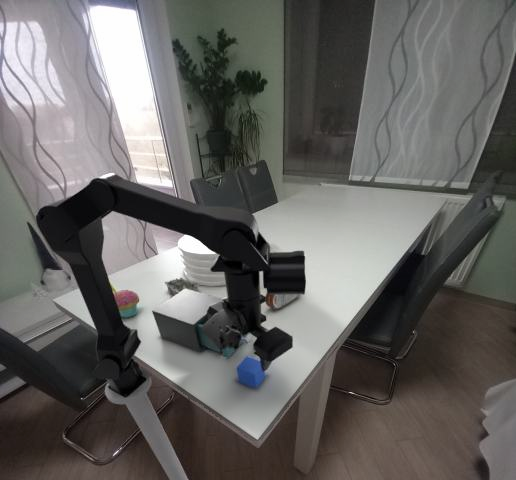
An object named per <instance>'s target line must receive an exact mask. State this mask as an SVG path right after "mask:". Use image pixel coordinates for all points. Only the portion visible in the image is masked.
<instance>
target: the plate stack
mask: <svg viewBox="0 0 516 480" xmlns="http://www.w3.org/2000/svg"><path fill="white" fill-rule="evenodd" d="M177 247H178V249H179V254H180V255H179V256H180V257H181V262H182V267H183V270H184V275H185V278H186V280H189V281H192V282H193V281H195V282H196V283H197V284H198V285H200V286H207V287H223V286H226V283H225V275H224V272H211V270H210V269H211V267H212V264H213V262H214V260H215V259H216V258H217V257H218V256H219V254H217V253H215V252H213V251H211V250H209V249H208V248H207V247H206V246H204V245H203V244H202V243H201V242H200V241H198V240H197V239H195V238H193V237H191V236H188V235H185V234H184V236H182V237H181V238H179V240H178V242H177Z"/></svg>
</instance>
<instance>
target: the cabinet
mask: <svg viewBox="0 0 516 480" xmlns="http://www.w3.org/2000/svg"><path fill="white" fill-rule="evenodd" d="M223 299H224V298H222V297H217V296H214V295H211V294H207V293H203V292H200V291H198V292H196V291H192V290H189V289H184V290H182V291H181V292H179V293H178V294H176V295H175V296H174V295H173V296H172V297H170V298H169V299H168V300H166V301H164V302H163V303H161V304H159V305H158V306H156V307H154V309H152V310H151V312H152V315H153V318H154V321H155V323H156V326H157V329H158V332H159V335H160V337H161V338H162V339H165V340H167V341H169V342H172V343H174V344H177V345H180V346H183V347H185V348H187V349H190V350H193V351H196V352H199V353H202V351H204V349H206V347H205V346H202V345H201V344H200V340H199V336H198V332H197V328H196V325H197V324H199V323H200V322H201V321H202V320H203V319H205V318H206V317H207V310H208V308H209V306H211V305H213V304H215V303H217V302H219V301H222V300H223Z"/></svg>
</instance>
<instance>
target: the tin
mask: <svg viewBox="0 0 516 480" xmlns="http://www.w3.org/2000/svg"><path fill="white" fill-rule="evenodd" d="M300 295H301V294H297V295H270V293H267V292H266V294H265V297H266V302H265V305H266V306H267V307H269V308H271V309H273V310H279V309H282V308H283V307H285V306H286V305H288V304H290V303H291V302H293V301H295V300H296V299H298V297H299V296H300Z"/></svg>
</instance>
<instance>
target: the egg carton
mask: <svg viewBox="0 0 516 480" xmlns="http://www.w3.org/2000/svg"><path fill="white" fill-rule="evenodd" d="M164 284H165V285H166V287H167V290H168V291H167V292H168V293H169V294H173V296H175V295H176V294H178V293H179V292H181V291H182V290H184V289H189V290H192V291H196V292H199V291H198V285H199V284H197V283H196V282H195V281H193V282H192V281H190V280H188V279H184V278H183V277H179V278H175V279H172V280H169V281H164Z"/></svg>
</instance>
